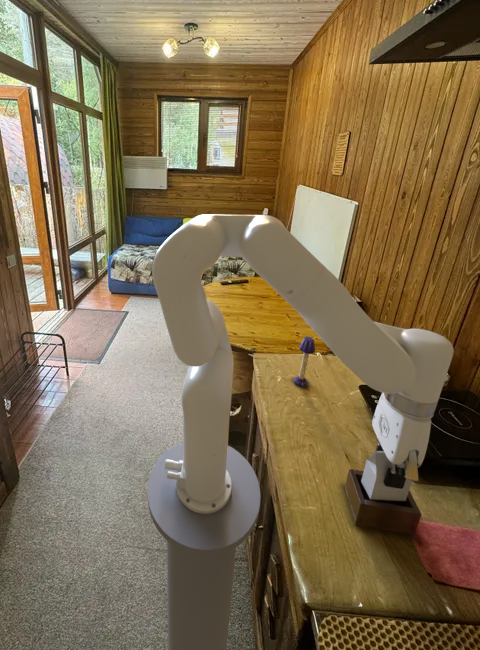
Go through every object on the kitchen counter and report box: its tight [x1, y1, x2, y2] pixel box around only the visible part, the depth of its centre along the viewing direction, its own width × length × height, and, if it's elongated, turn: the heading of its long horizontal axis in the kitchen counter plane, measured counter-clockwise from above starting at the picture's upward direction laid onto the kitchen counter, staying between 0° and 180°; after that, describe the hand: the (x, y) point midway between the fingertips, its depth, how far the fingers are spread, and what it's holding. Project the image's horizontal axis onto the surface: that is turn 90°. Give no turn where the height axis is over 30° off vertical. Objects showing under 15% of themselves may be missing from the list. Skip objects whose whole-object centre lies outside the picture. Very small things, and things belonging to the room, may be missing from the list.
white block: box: [361, 450, 413, 501], centre depth 60 cm, size 4×7×10 cm, turn 88°
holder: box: [344, 468, 422, 536], centre depth 62 cm, size 11×7×6 cm
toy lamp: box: [293, 336, 316, 388], centre depth 99 cm, size 5×5×17 cm
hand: (387, 473), depth 60 cm, fingers closed on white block, 4 cm apart
